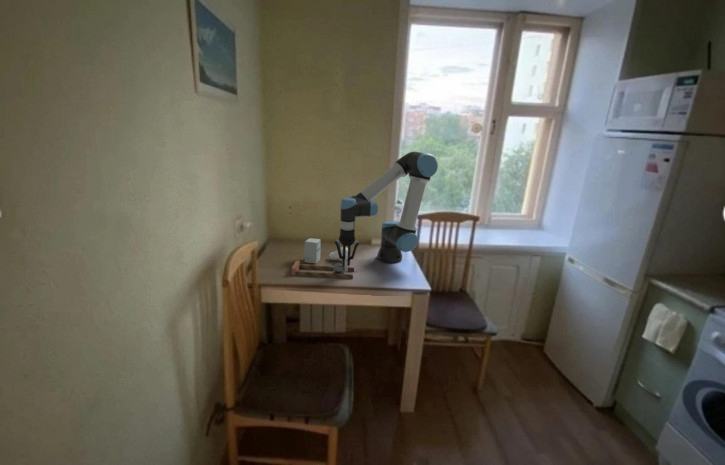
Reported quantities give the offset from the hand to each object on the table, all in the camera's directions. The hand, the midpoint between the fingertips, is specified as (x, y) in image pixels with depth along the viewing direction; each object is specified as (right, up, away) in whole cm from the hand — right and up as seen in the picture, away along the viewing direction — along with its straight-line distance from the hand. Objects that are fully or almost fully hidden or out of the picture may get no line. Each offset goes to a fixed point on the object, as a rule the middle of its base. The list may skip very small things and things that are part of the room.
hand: (346, 270), depth 180 cm
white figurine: (-5, +4, +19) cm, 20 cm away
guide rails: (-11, -1, +1) cm, 11 cm away
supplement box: (-20, +4, +17) cm, 27 cm away
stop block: (-27, 0, +2) cm, 27 cm away
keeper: (-4, -2, +1) cm, 4 cm away
